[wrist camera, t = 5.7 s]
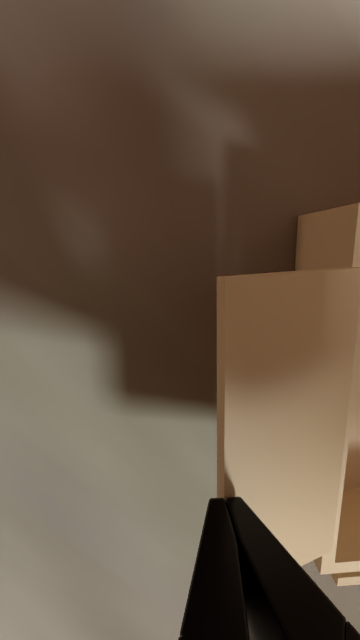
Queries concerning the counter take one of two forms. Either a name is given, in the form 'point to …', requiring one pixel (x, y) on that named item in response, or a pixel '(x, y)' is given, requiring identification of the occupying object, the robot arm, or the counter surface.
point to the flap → (286, 398)
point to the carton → (356, 473)
